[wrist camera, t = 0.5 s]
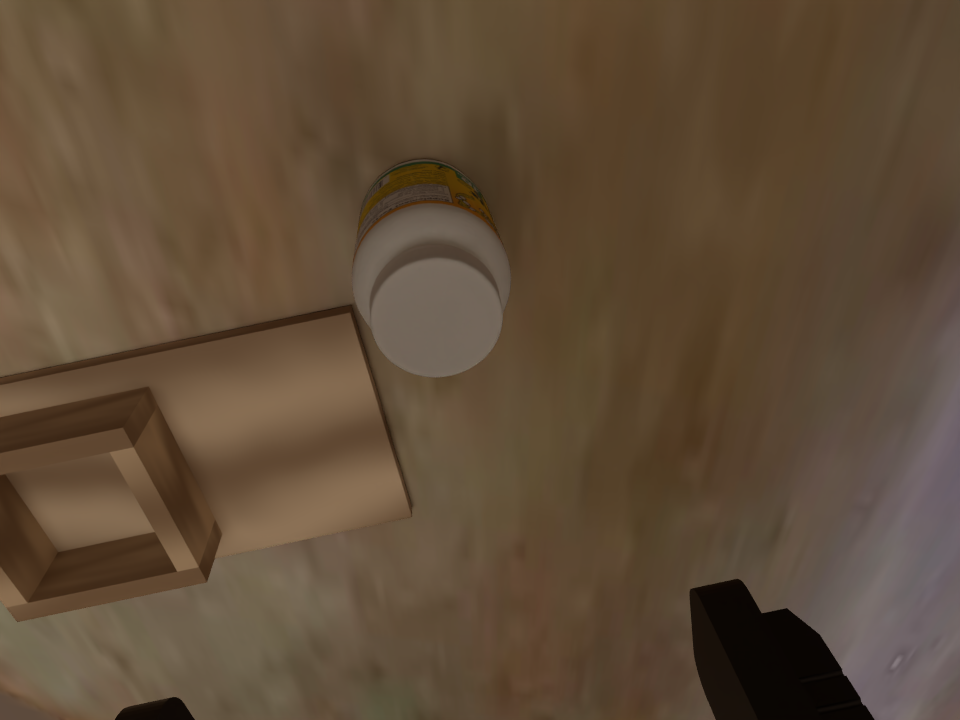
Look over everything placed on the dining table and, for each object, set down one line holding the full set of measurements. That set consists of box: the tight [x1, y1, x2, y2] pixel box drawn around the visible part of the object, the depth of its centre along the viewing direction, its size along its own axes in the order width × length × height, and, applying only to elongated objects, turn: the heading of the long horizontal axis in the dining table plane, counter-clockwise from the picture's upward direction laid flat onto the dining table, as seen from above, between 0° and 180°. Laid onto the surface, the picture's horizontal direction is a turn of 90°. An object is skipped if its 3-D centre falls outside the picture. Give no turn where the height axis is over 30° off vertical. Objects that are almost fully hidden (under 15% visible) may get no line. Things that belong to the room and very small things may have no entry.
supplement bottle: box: [352, 159, 511, 377], centre depth 24 cm, size 5×5×10 cm
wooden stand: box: [0, 305, 412, 622], centre depth 31 cm, size 12×20×4 cm, turn 100°
